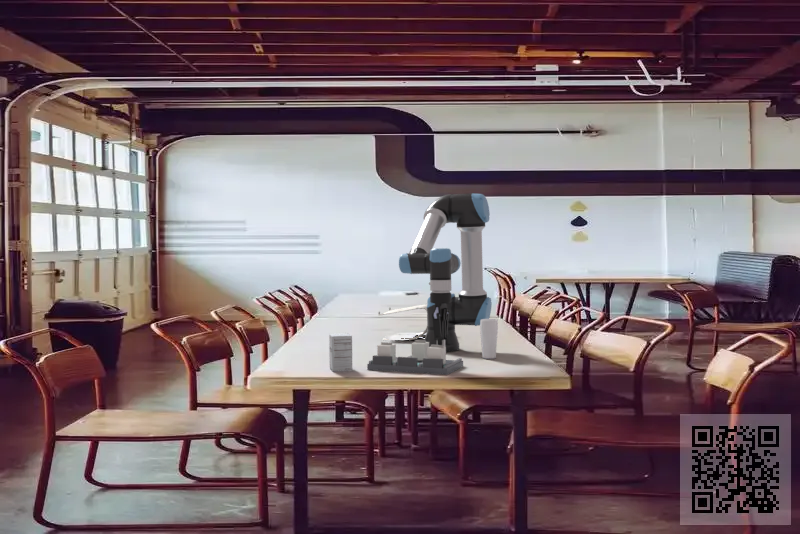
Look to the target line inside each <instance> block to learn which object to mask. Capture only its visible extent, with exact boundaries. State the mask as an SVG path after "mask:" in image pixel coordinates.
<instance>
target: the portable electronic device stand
mask: <svg viewBox="0 0 800 534" xmlns="http://www.w3.org/2000/svg"><path fill="white" fill-rule="evenodd" d="M388 309H389V310H388V311H385V312H383V313H381V311H378V312H377V313H378V316H383V315H390V314H396V313H402V312H409V311H413V310H418V309H419V310H422V309H423V310H425V311H426V312H427V303H425V304H419V305H413V306H408V307H402V308H394V309H393V308H392V309H391V307H389V308H388ZM417 334H420V335H419V336H416V337H413V338H405V339H409V341H413V340H417V339H416V338H419V337H423V336H424V335H426V334H427V327H426V328H425V330H424V331H423V332H419V333H417ZM401 339H404V338H401ZM384 340H389V339H386V338H384V337H383V338H382V340H381V341H384Z"/></svg>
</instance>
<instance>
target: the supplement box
mask: <svg viewBox="0 0 800 534" xmlns="http://www.w3.org/2000/svg"><path fill="white" fill-rule="evenodd" d="M328 337H329V341H328V342H329V344H328V345H329V347H328V348H329V353H328V354H329V369H330V370H331V372H333V373H334V372H338V373H339V372H351V371H353V335H351V334H350V333H349V332H347V333H346V332H345V333H344V332H343V333H340V332H339V333H329V334H328Z"/></svg>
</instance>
